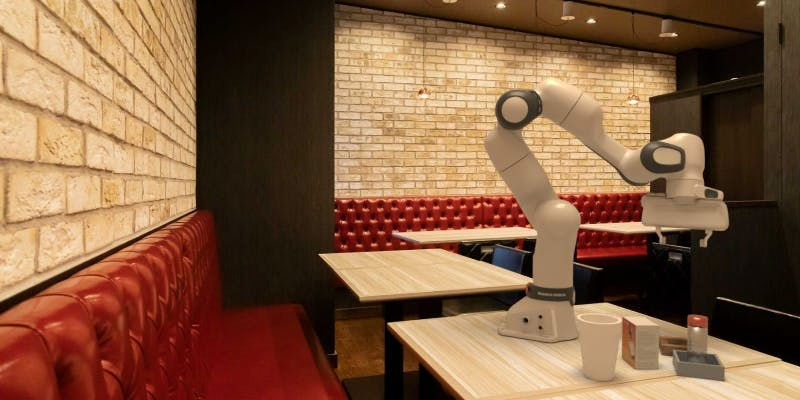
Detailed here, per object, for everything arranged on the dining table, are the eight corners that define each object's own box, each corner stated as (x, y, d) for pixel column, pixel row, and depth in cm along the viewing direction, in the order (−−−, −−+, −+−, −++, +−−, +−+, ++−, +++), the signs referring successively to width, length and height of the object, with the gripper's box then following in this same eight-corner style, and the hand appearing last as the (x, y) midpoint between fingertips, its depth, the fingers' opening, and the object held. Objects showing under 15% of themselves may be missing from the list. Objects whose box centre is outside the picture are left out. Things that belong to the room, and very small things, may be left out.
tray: (677, 375, 117) (677, 361, 117) (672, 362, 126) (672, 349, 126) (724, 381, 114) (724, 367, 114) (716, 367, 122) (716, 354, 122)
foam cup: (597, 386, 111) (598, 326, 111) (567, 372, 120) (568, 316, 119) (630, 379, 115) (631, 321, 115) (599, 366, 124) (599, 311, 123)
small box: (621, 358, 129) (621, 315, 129) (644, 358, 129) (644, 316, 129) (634, 369, 121) (635, 324, 121) (659, 369, 121) (659, 324, 121)
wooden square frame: (661, 355, 131) (661, 345, 131) (658, 344, 139) (658, 335, 139) (702, 359, 128) (702, 349, 128) (697, 348, 136) (697, 339, 136)
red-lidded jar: (688, 370, 119) (689, 318, 118) (686, 364, 122) (686, 314, 122) (708, 372, 117) (709, 319, 117) (705, 366, 121) (706, 315, 120)
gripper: (641, 189, 141) (638, 240, 139) (730, 192, 132) (729, 246, 129) (641, 194, 146) (639, 243, 144) (727, 197, 137) (726, 249, 135)
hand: (682, 245), depth 137 cm, fingers open, 8 cm apart
